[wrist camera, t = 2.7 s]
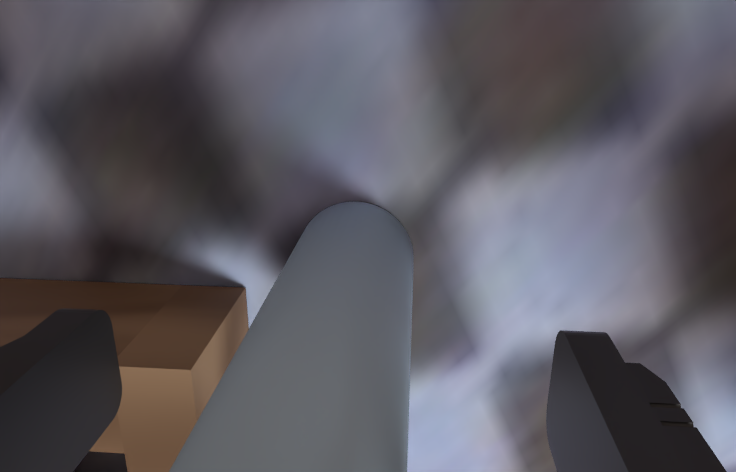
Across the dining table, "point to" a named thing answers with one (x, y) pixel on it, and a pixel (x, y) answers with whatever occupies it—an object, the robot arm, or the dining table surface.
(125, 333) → the socket block
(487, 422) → the dining table surface
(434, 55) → the dining table surface
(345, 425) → the peg
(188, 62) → the dining table surface
